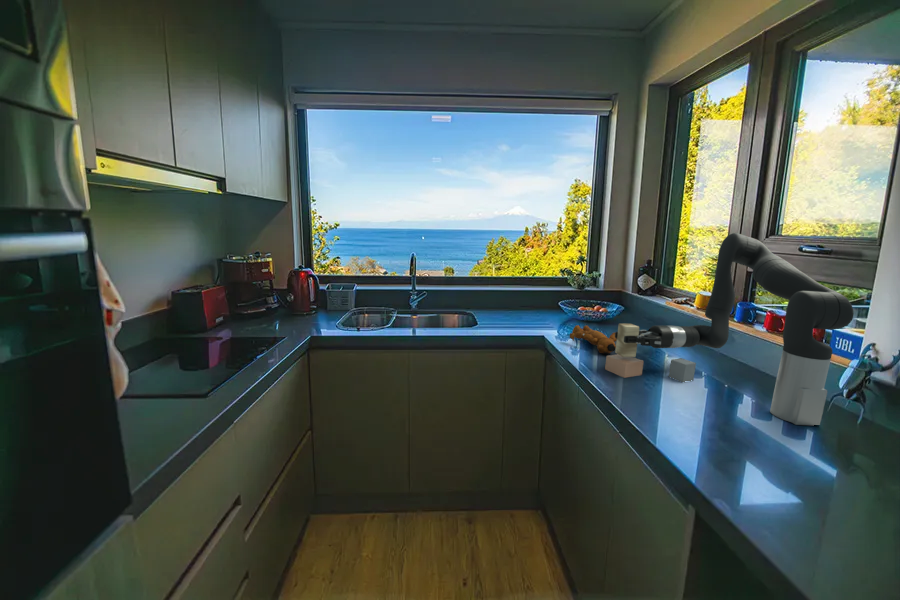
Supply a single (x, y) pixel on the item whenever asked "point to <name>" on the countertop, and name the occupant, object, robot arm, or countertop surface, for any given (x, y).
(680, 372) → the grey block
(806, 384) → the robot arm
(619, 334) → the beech pillar
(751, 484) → the countertop surface
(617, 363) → the terracotta block
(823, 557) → the countertop surface
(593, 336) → the toy
